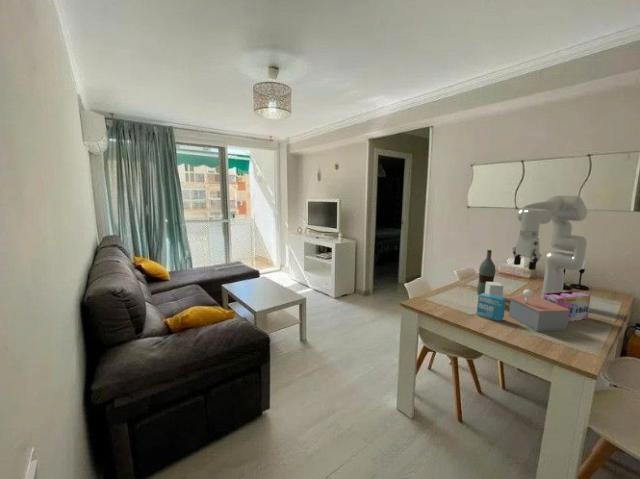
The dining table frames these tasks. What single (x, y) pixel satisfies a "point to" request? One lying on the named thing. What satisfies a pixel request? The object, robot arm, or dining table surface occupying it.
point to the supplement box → (494, 289)
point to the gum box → (571, 303)
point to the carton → (538, 318)
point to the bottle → (486, 273)
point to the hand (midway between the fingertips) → (524, 267)
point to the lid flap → (538, 303)
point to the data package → (491, 307)
